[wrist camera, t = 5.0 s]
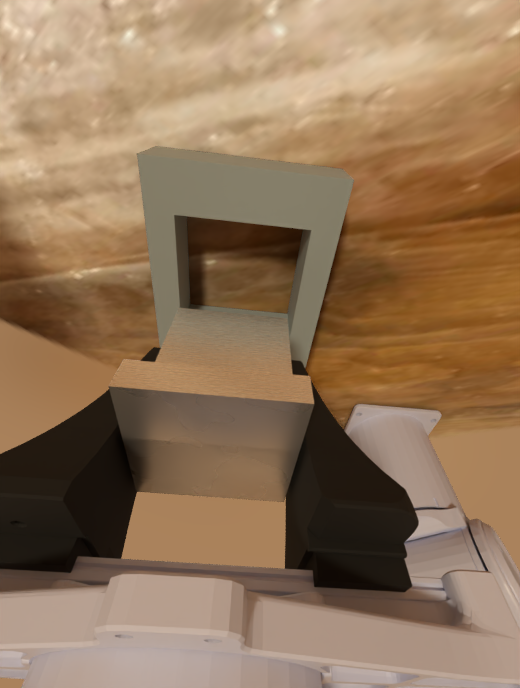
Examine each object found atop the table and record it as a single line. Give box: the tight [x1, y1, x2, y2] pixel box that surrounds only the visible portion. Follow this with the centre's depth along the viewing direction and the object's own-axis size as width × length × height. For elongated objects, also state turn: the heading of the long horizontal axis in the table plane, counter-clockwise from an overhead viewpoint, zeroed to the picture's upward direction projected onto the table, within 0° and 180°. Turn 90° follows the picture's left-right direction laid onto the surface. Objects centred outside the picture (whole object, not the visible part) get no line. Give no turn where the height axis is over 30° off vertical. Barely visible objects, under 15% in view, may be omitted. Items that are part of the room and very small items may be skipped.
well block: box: [137, 146, 354, 368], centre depth 19 cm, size 12×10×3 cm
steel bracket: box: [109, 308, 314, 502], centre depth 12 cm, size 5×5×7 cm
